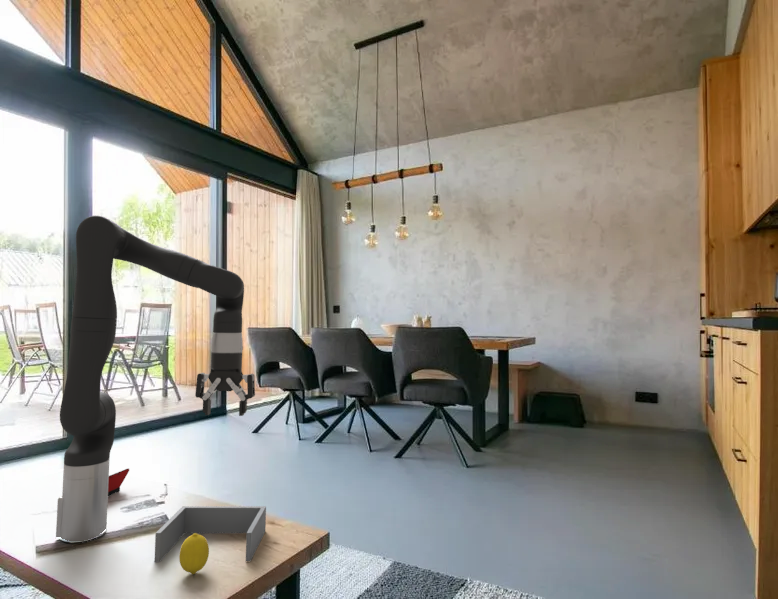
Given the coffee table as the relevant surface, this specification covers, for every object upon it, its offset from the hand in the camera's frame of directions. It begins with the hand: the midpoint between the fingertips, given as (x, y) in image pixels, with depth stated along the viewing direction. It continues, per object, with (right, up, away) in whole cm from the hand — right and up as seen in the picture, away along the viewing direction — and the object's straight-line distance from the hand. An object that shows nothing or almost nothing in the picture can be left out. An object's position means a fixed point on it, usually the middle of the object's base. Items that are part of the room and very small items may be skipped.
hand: (224, 415), depth 122 cm
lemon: (+2, -26, -25) cm, 36 cm away
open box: (+2, -27, -12) cm, 29 cm away
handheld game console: (-42, -28, +16) cm, 53 cm away
